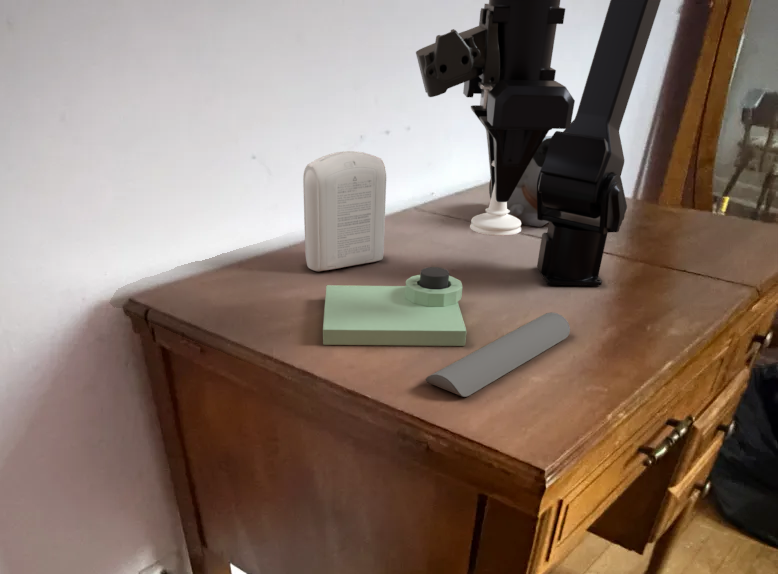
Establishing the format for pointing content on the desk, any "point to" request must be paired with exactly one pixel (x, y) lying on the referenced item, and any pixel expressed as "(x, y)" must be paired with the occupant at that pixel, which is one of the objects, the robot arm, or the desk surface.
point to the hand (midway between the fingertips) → (499, 198)
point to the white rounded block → (344, 210)
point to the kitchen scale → (394, 315)
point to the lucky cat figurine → (528, 190)
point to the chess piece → (496, 219)
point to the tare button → (434, 278)
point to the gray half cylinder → (501, 355)
